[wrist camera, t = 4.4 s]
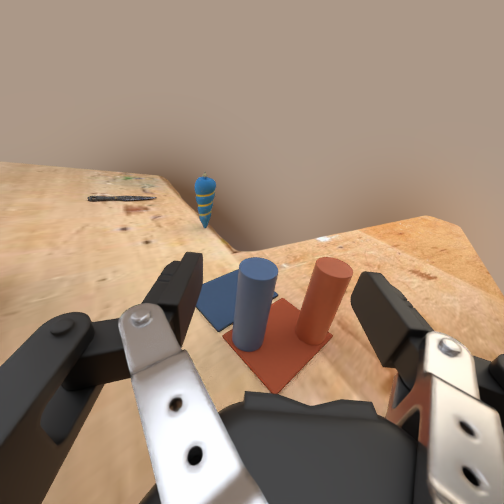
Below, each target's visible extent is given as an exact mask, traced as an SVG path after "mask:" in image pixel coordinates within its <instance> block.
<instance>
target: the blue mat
mask: <svg viewBox="0 0 504 504" xmlns="http://www.w3.org/2000/svg"><path fill="white" fill-rule="evenodd" d="M238 274H239V269H238V270H235V271H233V272H230V273H228V274H226V275H223V276H221V277H219V278H216V279H214V280H211V281H209V282H207V283H204V284H202V289H201V292H200V295H199V298H198V301H197V304H196V307H197V308H198V309H199V311H200V312H201V313H202V314H203V315H204V316H205V317H206V319H207V320H208V321H209V322H210V323H211V324H212V325H213V327H214V328H215V329H216V330H217V331H218V332H219V331H221V330H223V329H224V328H226V327H228V326H229V325H231V324H232V323H234V313H235V303H236V293H237V284H238ZM277 296H278V294H277V293H276V292H274V294H273V299H274V298H275V297H277Z"/></svg>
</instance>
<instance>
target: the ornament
mask: <svg viewBox="0 0 504 504" xmlns="http://www.w3.org/2000/svg"><path fill="white" fill-rule="evenodd" d="M215 187H216V183H215V181H214V180H213V179H211V178H208V177H207V175H206V174H203V177H200V178H198V179H197V181H196V183H195V192H196V195H197V196H196V201H197V203H198V211H199V214H200V216H199V218H200V221H201V223H202V224H203V227H204V228H206V227H207V225H208V222H209V220H210V217H211V209H212V206H213V199H214V196H215V192H214V190H215Z"/></svg>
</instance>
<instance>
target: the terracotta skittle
mask: <svg viewBox="0 0 504 504" xmlns="http://www.w3.org/2000/svg"><path fill="white" fill-rule="evenodd" d="M352 275H353V270H352V268H351V267H350V266H349V265H348V264H346V263H345V262H343V261H341V260H338V259H335V258H331V257H322V258H319V259H318V260H317V261H316V264H315V267H314V270H313V273H312V276H311V279H310V283H309V286H308V289H307V292H306V295H305V298H304V301H303V305H302V308H301V311H300V314H299V317H298V320H297V324H296V327H295V332H296V334H297V336H298V338H299V339H300V340H301V341H303V342H304V343H306V344H309V345H320V344H321V343H323V341H324V339H325V337H326V335H327V333H328V330H329V328H330V326H331V323H332V321H333V319H334V317H335V314H336V312H337V310H338V307H339V305H340V303H341V300H342V298H343V296H344V294H345V291H346V289H347V287H348V284H349V282H350V280H351V277H352Z"/></svg>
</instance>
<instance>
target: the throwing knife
mask: <svg viewBox="0 0 504 504" xmlns="http://www.w3.org/2000/svg"><path fill="white" fill-rule="evenodd" d="M92 198H95V199H92ZM154 198H156V197H142V196H116V197H104V196H90V197H88V200H89V201H101V200H123V201H126V200H143V199H154Z"/></svg>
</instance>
